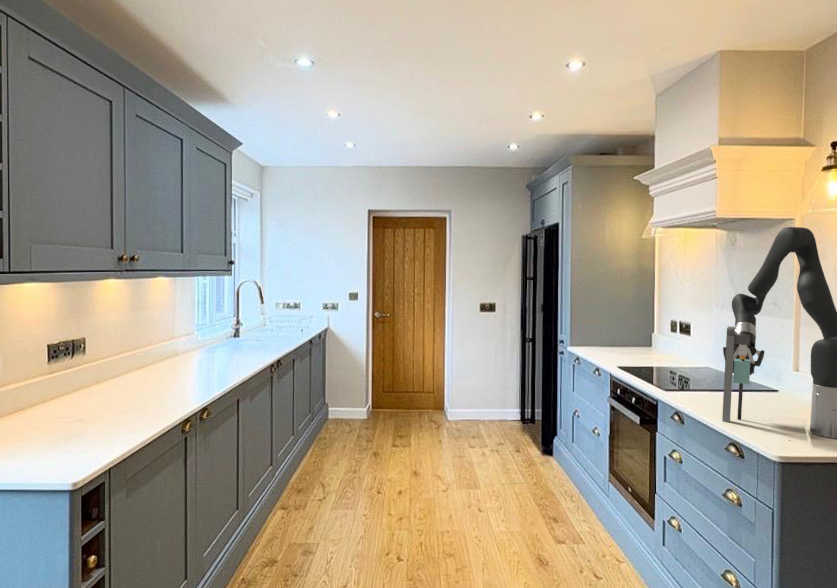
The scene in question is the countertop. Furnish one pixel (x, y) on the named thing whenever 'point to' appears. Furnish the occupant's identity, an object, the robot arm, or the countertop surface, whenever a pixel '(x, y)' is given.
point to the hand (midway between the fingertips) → (741, 372)
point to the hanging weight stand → (730, 341)
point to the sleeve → (741, 371)
